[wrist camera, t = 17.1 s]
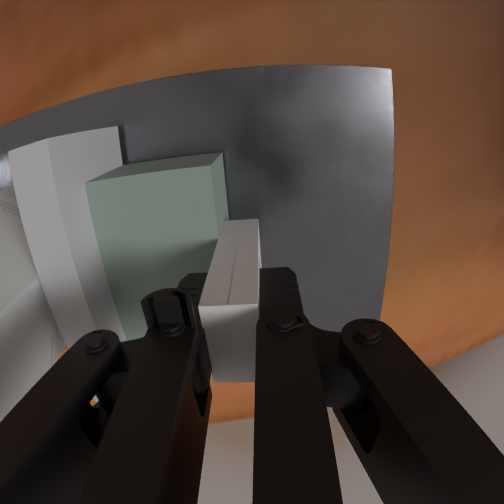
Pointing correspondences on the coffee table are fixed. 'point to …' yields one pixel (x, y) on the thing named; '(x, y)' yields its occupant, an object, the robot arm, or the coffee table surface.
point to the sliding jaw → (114, 226)
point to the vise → (269, 163)
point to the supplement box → (22, 312)
